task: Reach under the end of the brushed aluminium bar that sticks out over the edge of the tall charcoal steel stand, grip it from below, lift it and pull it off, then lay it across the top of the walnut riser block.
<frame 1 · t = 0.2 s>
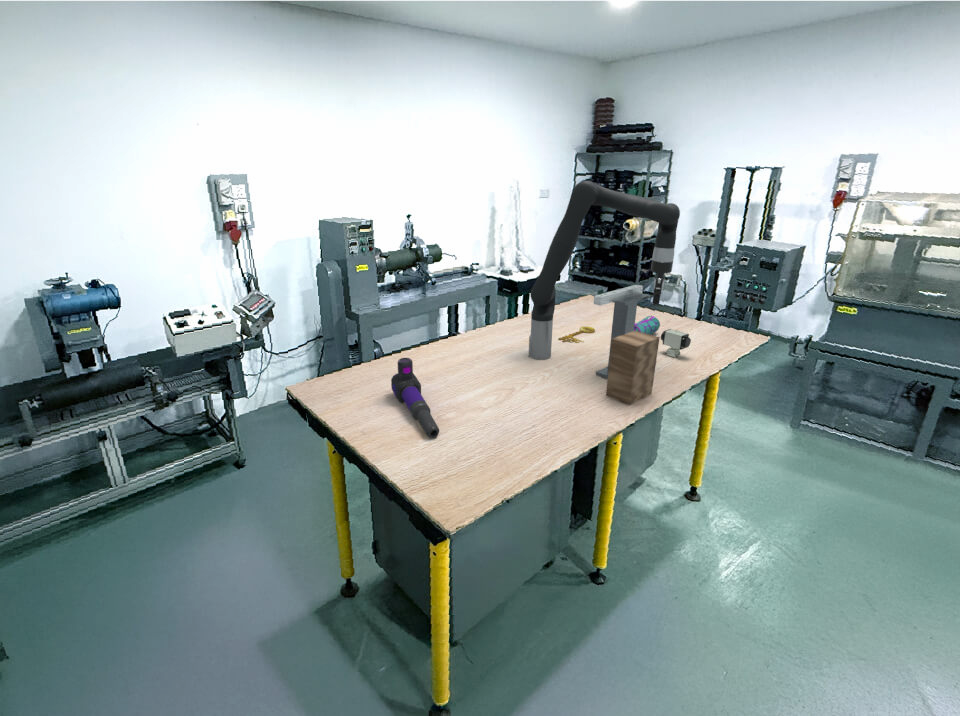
hand: (656, 300, 191), 29 cm above the table, tool pointing down, fingers open, 8 cm apart
pencil case: (640, 338, 238), on the table
walnut riser: (628, 394, 181), on the table
mini surveillance camera: (673, 356, 216), on the table
aluminium bar: (618, 298, 183), point 32 cm above the table, touching steel stand
key: (579, 337, 240), on the table
steel stand: (618, 373, 198), on the table
device: (417, 414, 168), on the table
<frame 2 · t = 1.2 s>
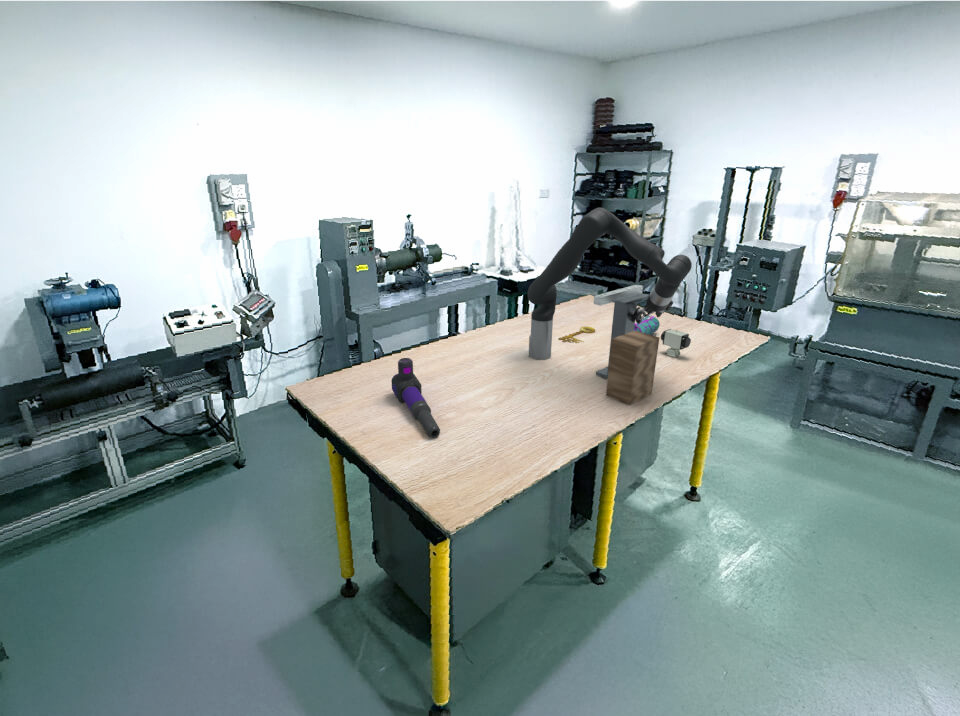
hand: (647, 318, 190), 23 cm above the table, tool tilted 45°, fingers open, 8 cm apart
nothing on the table moved.
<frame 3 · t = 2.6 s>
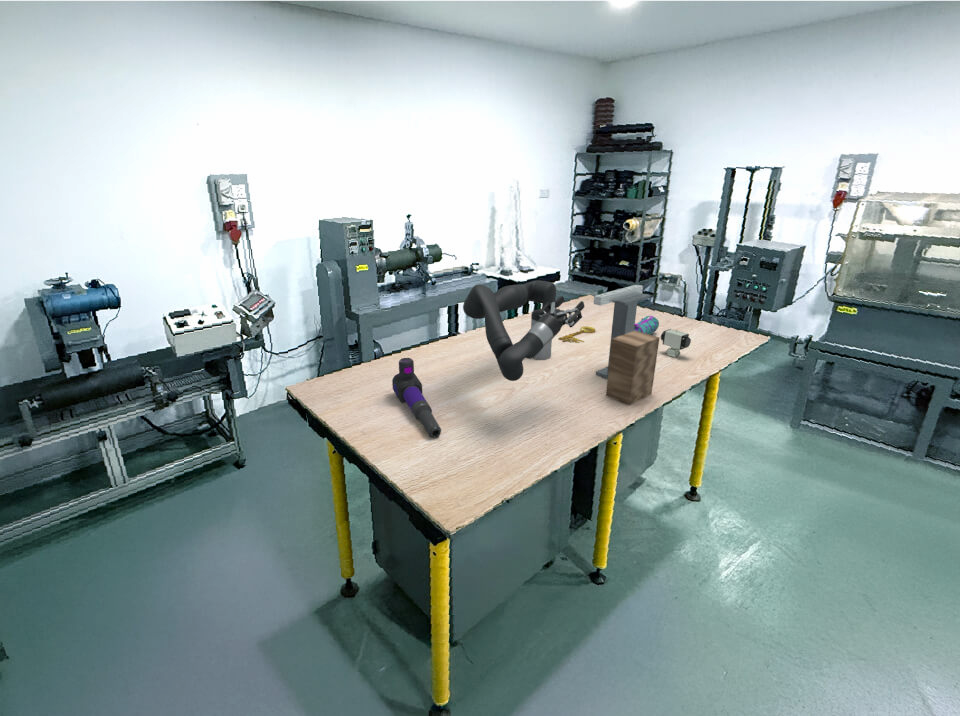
hand: (572, 300, 166), 36 cm above the table, tool pointing upward, fingers open, 8 cm apart
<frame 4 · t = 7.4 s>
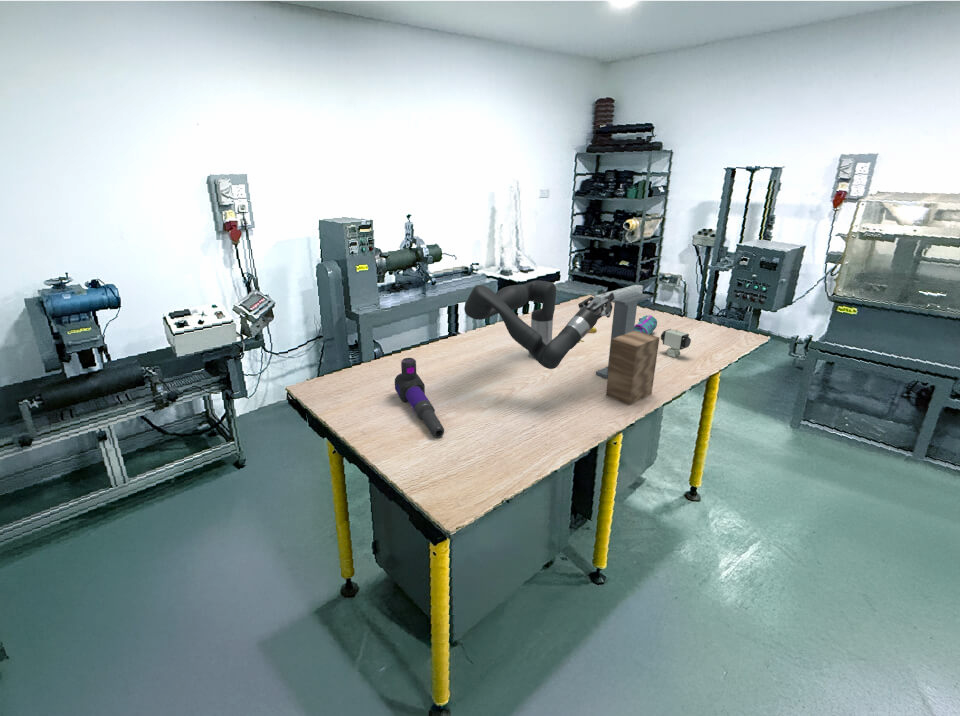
hand: (608, 293, 178), 35 cm above the table, tool pointing upward, fingers closed on aluminium bar, 3 cm apart
aluminium bar: (618, 298, 183), point 32 cm above the table, touching gripper, steel stand
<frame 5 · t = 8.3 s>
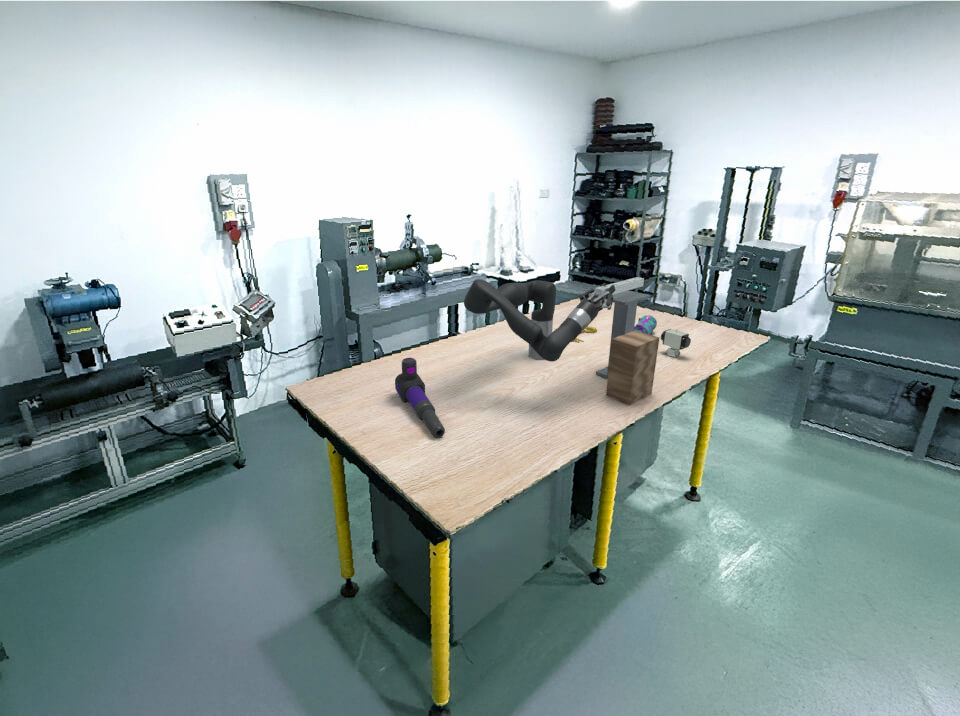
hand: (609, 286, 177), 38 cm above the table, tool pointing upward, fingers closed on aluminium bar, 3 cm apart
aluminium bar: (619, 291, 182), point 35 cm above the table, touching gripper
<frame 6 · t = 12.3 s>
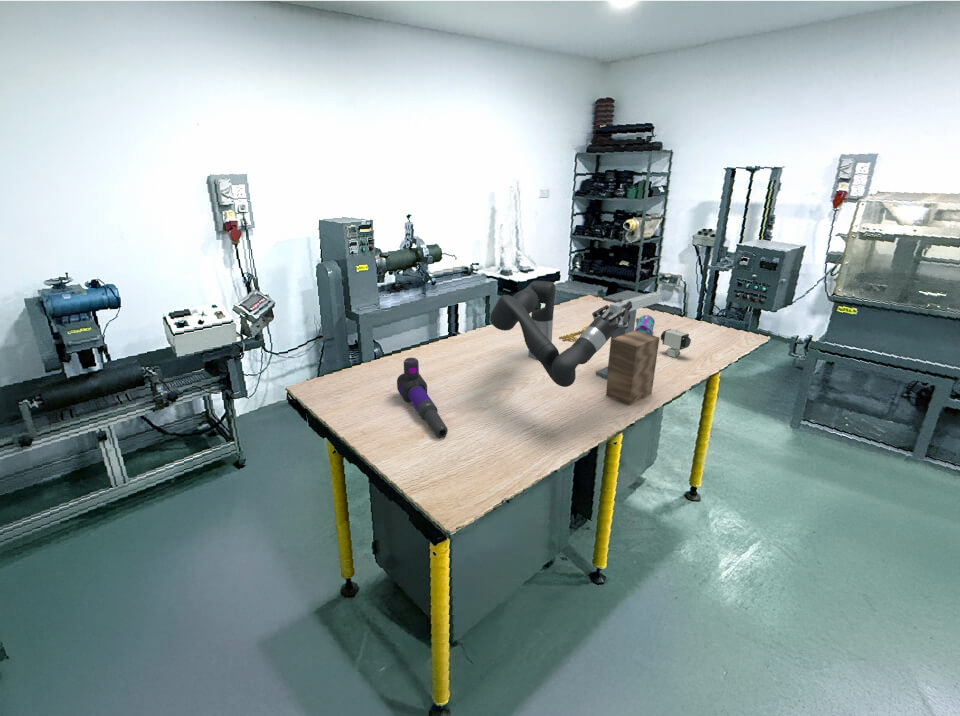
hand: (625, 302, 162), 37 cm above the table, tool pointing upward, fingers closed on aluminium bar, 3 cm apart
aluminium bar: (636, 307, 167), point 34 cm above the table, touching gripper
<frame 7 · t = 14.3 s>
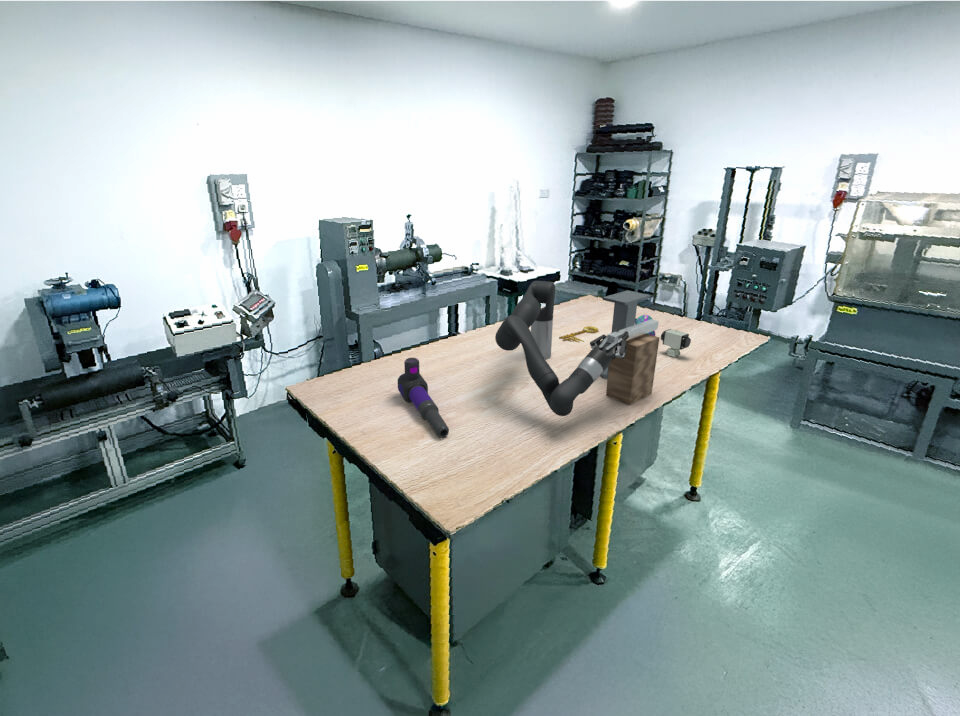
hand: (622, 331, 166), 26 cm above the table, tool pointing upward, fingers closed on aluminium bar, 3 cm apart
aluminium bar: (633, 335, 171), point 23 cm above the table, touching gripper
when the fingers open (26 cm above the table, at t = 14.3 s): aluminium bar drops 1 cm, resting on walnut riser.
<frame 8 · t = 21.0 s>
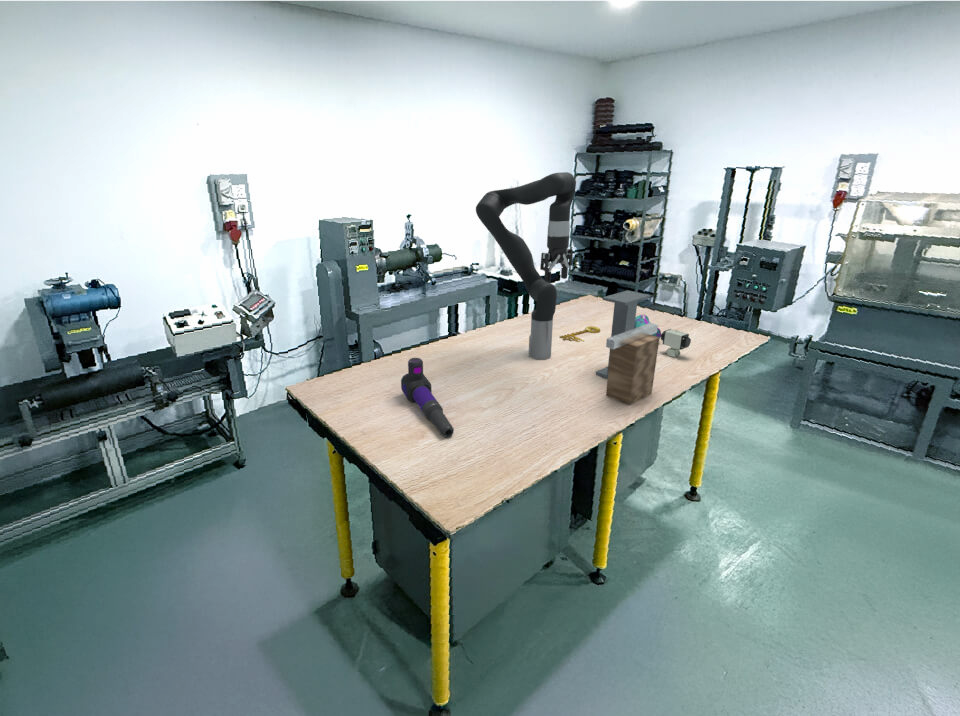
hand: (555, 280, 176), 40 cm above the table, tool pointing down, fingers open, 8 cm apart
aluminium bar: (632, 339, 171), point 22 cm above the table, touching walnut riser
device: (428, 413, 168), on the table
at the end: aluminium bar inside the target area on the walnut riser (0.3 cm from its centre), point 22.0 cm above the walnut riser's base; aluminium bar touching walnut riser; the gripper is holding nothing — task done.
